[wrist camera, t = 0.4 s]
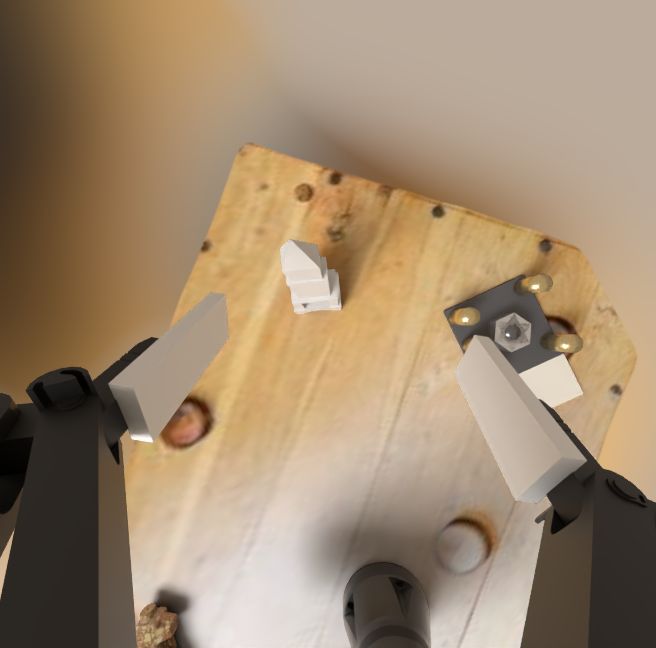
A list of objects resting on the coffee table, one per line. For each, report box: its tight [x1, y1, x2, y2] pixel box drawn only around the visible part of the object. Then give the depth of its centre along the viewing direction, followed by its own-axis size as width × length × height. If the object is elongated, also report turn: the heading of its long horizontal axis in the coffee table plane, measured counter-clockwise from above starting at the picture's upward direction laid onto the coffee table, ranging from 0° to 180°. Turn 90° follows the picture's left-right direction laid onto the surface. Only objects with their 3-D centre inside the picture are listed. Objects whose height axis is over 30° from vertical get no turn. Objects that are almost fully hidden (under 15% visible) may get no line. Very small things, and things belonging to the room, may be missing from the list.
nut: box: [487, 313, 531, 352], centre depth 46 cm, size 7×6×3 cm
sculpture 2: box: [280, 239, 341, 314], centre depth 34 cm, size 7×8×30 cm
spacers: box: [449, 274, 583, 353], centre depth 45 cm, size 14×16×5 cm
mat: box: [444, 275, 583, 408], centre depth 48 cm, size 24×16×1 cm, turn 25°
